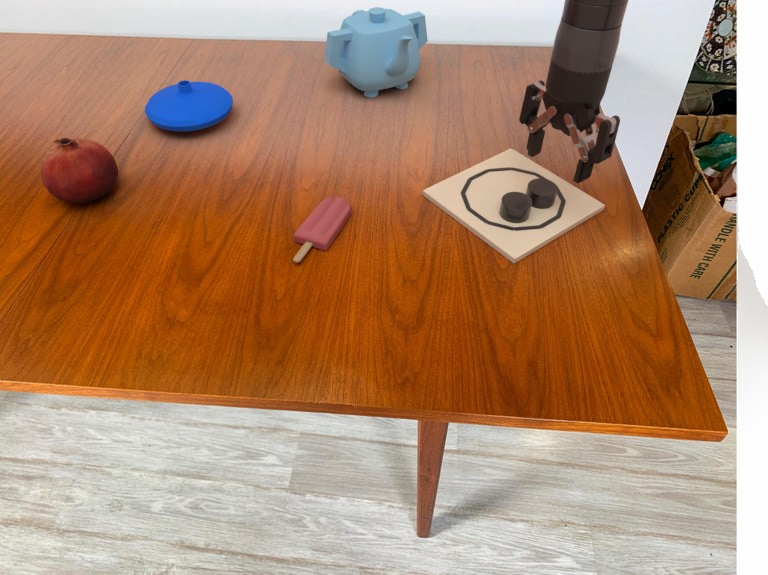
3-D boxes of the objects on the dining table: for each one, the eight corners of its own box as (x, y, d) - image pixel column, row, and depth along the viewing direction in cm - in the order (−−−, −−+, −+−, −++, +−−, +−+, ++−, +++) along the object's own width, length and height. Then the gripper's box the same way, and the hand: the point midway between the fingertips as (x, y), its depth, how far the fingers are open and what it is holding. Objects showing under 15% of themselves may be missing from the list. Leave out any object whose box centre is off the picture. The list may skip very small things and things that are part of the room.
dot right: (560, 201, 90) (564, 188, 88) (540, 212, 88) (543, 199, 86) (538, 187, 92) (541, 174, 90) (518, 198, 90) (521, 185, 89)
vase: (204, 149, 102) (195, 112, 96) (131, 131, 106) (118, 95, 100) (251, 107, 112) (245, 71, 107) (182, 92, 116) (173, 57, 111)
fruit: (56, 222, 88) (27, 166, 80) (52, 186, 94) (24, 131, 87) (129, 204, 91) (108, 148, 84) (120, 170, 97) (99, 116, 90)
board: (603, 210, 90) (605, 204, 89) (513, 264, 81) (515, 258, 81) (510, 152, 101) (511, 147, 100) (422, 195, 92) (422, 189, 92)
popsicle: (277, 252, 81) (326, 192, 90) (279, 260, 82) (326, 200, 91) (312, 262, 79) (357, 200, 89) (313, 270, 80) (357, 208, 90)
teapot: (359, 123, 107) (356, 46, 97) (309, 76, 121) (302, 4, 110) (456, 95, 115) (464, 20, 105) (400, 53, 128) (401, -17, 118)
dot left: (535, 215, 87) (538, 202, 86) (514, 227, 85) (517, 214, 84) (513, 201, 90) (516, 187, 88) (493, 212, 88) (495, 198, 86)
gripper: (650, 68, 70) (613, 180, 82) (558, 31, 78) (536, 138, 90) (611, 86, 67) (578, 200, 78) (519, 45, 75) (502, 154, 86)
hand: (555, 167), depth 84 cm, fingers open, 8 cm apart
